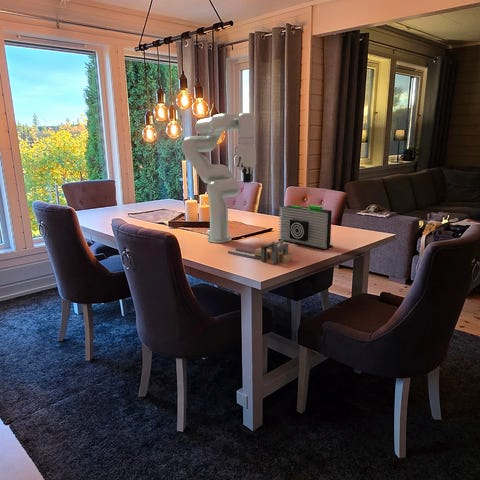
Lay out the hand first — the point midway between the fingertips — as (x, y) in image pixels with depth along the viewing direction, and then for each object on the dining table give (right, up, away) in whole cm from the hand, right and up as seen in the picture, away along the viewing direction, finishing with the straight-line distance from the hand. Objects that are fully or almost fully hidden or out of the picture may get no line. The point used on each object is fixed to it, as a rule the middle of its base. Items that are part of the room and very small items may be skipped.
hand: (246, 182), depth 187 cm
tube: (+11, -36, -9) cm, 39 cm away
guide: (+1, -34, -2) cm, 34 cm away
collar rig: (+12, -36, -10) cm, 39 cm away
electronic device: (+29, -29, +15) cm, 43 cm away
